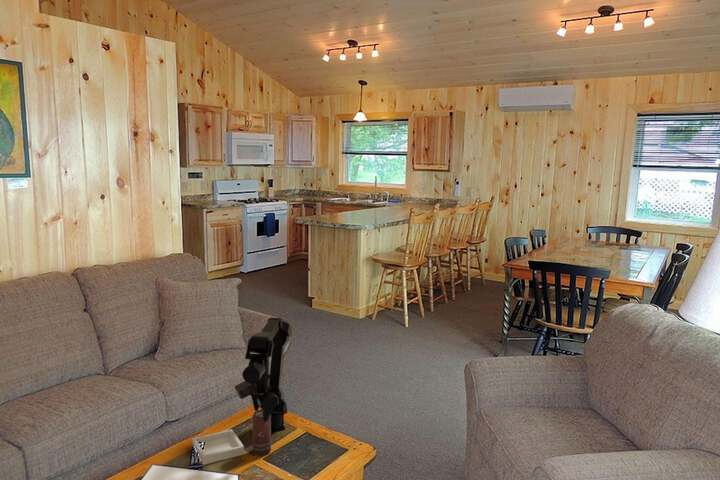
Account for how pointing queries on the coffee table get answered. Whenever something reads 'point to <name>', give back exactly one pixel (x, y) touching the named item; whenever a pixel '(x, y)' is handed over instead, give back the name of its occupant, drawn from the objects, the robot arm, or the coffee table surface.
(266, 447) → the can
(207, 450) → the tray
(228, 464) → the coffee table surface
